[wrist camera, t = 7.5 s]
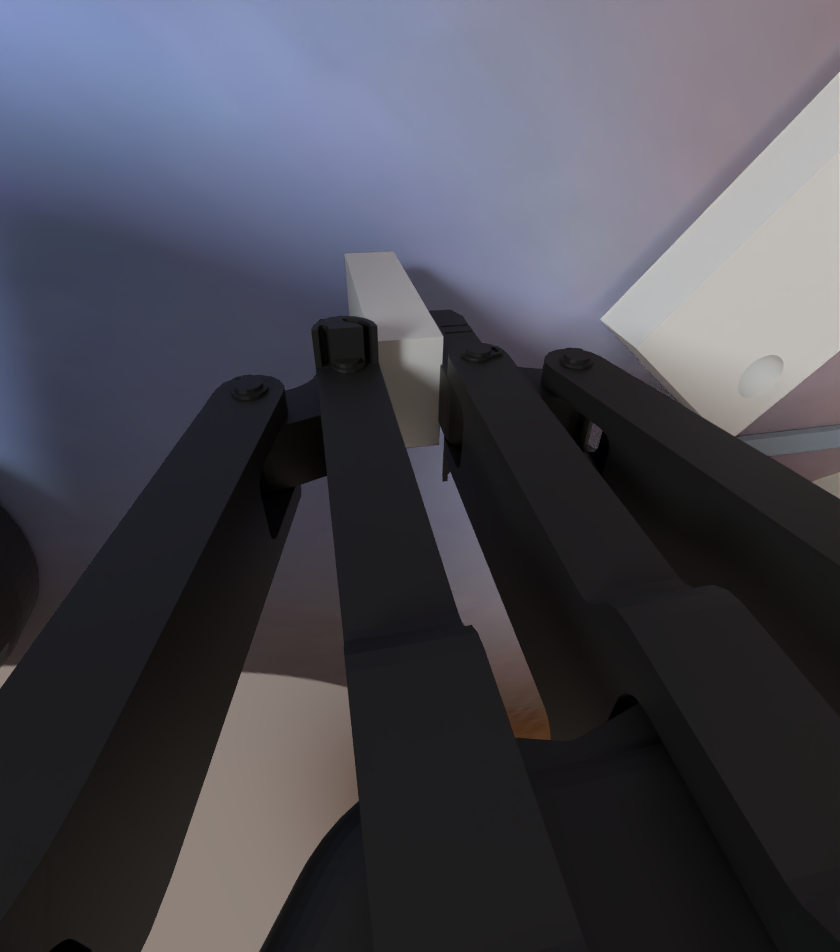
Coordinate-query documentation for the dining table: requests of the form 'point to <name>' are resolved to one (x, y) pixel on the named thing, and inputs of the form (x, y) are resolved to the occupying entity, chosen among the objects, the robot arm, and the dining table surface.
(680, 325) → the bracket
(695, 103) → the dining table surface
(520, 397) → the robot arm
